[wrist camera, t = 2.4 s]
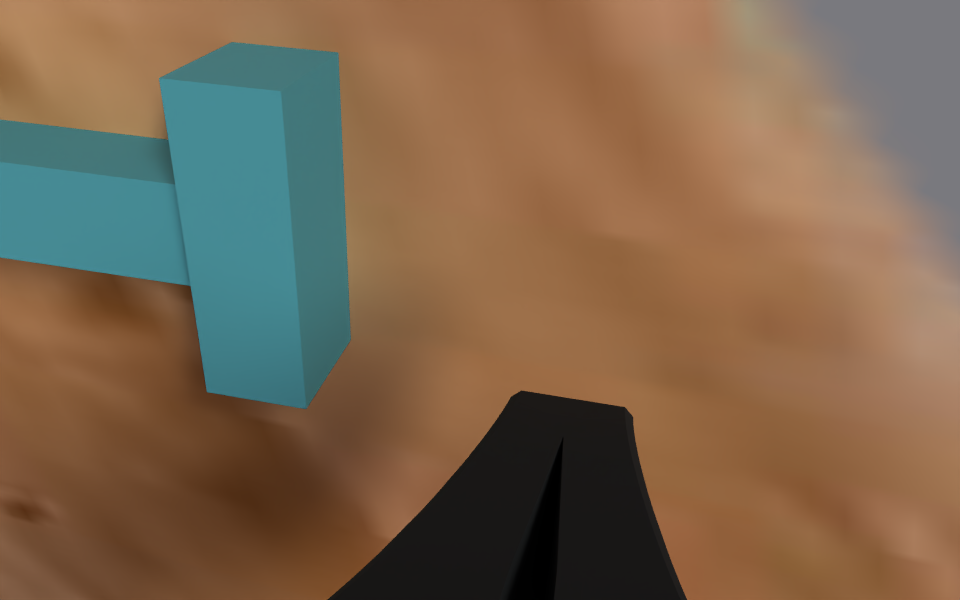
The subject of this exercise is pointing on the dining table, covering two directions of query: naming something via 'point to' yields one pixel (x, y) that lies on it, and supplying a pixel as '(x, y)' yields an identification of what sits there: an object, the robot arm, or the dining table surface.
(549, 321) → the dining table surface
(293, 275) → the teal t-shaped bar
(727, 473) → the dining table surface
